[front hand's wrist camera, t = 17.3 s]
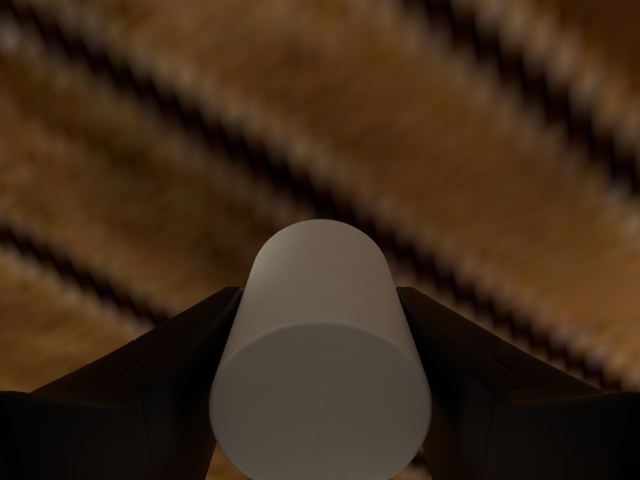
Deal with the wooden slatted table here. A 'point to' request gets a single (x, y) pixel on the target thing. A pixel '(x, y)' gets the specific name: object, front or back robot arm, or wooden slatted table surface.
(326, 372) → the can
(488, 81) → the wooden slatted table surface
